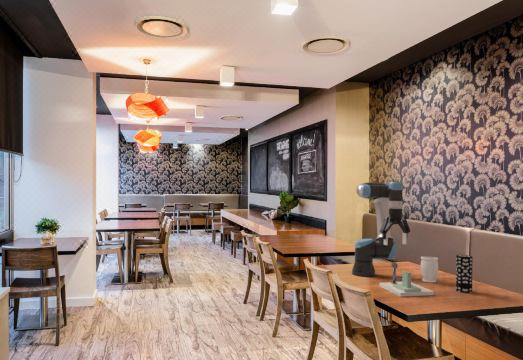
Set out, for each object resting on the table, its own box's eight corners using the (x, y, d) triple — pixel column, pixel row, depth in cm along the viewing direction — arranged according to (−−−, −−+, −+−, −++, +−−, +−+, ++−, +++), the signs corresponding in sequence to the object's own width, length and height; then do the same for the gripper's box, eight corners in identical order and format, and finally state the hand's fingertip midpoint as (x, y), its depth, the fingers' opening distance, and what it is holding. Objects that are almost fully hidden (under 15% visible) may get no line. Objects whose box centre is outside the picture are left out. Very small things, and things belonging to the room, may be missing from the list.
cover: (392, 286, 233) (393, 269, 233) (408, 286, 236) (408, 269, 236) (404, 292, 222) (404, 274, 222) (421, 291, 224) (421, 273, 224)
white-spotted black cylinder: (465, 293, 229) (466, 257, 229) (452, 290, 236) (453, 255, 236) (475, 292, 232) (475, 256, 233) (462, 288, 240) (462, 254, 240)
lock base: (379, 286, 242) (379, 282, 242) (409, 285, 247) (409, 281, 247) (400, 296, 220) (400, 292, 220) (433, 295, 224) (433, 290, 224)
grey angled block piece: (393, 283, 238) (393, 263, 239) (391, 281, 244) (391, 261, 245) (411, 284, 237) (411, 264, 237) (408, 282, 243) (409, 262, 243)
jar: (439, 283, 251) (440, 259, 252) (421, 282, 253) (422, 258, 254) (436, 279, 262) (436, 256, 262) (418, 278, 264) (419, 255, 264)
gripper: (382, 208, 233) (381, 246, 233) (416, 208, 243) (416, 244, 242) (373, 207, 240) (373, 244, 240) (408, 207, 250) (407, 242, 249)
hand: (395, 244), depth 241 cm, fingers open, 13 cm apart
